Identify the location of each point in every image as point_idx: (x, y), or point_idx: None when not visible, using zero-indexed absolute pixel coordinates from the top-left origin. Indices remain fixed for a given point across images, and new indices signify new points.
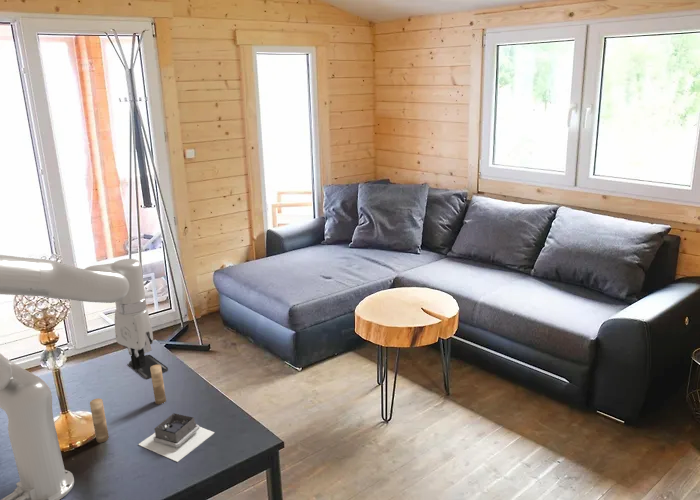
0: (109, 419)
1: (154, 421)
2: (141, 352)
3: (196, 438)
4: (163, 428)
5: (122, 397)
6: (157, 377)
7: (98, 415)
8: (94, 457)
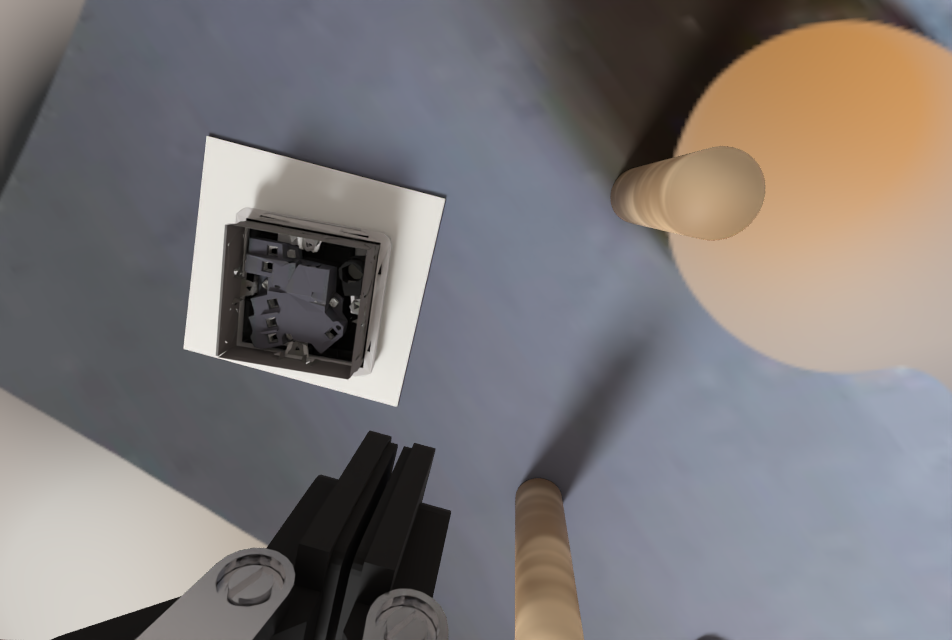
0: (698, 336)
1: (478, 365)
2: (87, 636)
3: None
4: (366, 295)
5: (738, 496)
6: (526, 584)
7: (661, 165)
8: (591, 62)
